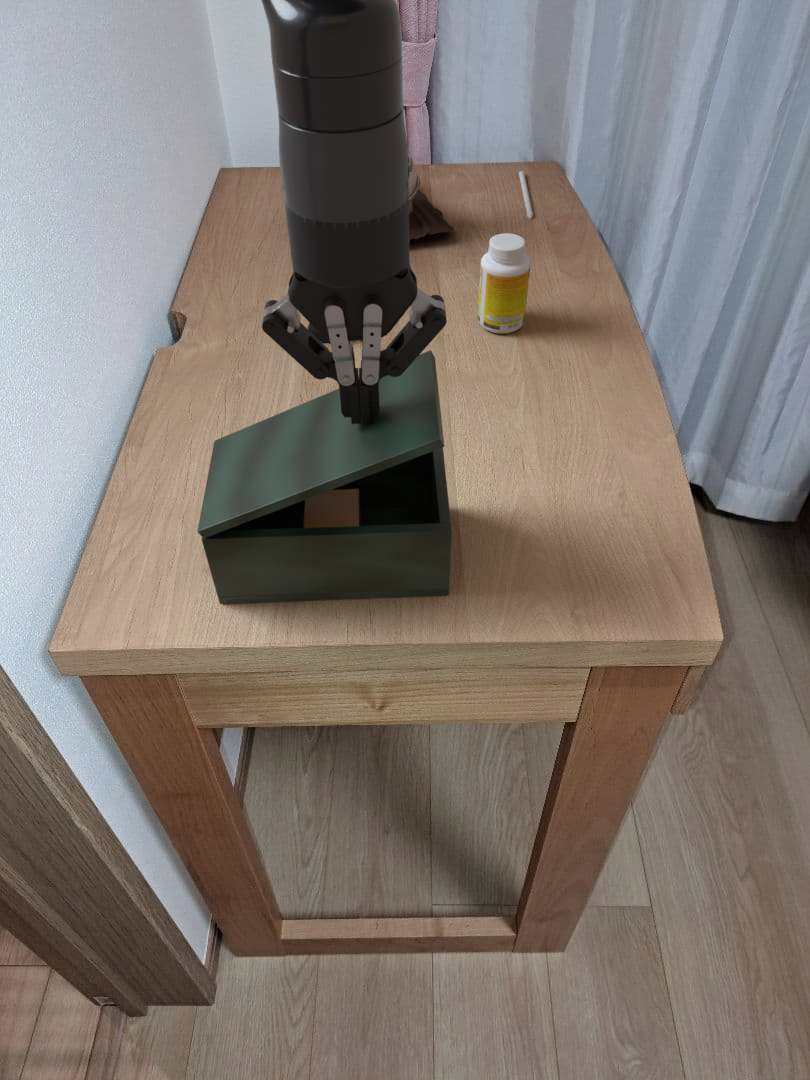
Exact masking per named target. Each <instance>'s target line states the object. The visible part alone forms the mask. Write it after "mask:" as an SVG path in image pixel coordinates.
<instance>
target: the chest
mask: <svg viewBox="0 0 810 1080" xmlns="http://www.w3.org/2000/svg"><path fill="white" fill-rule="evenodd" d="M444 453H445V452H444V447H443V448H440V449H437V450H435V451H432V452H429V453H427V454H424V455H422V456H419V457H416V458H414V459H411V460H408V461H406V462H403V463H401V464H398V465H395V466H393V467H390V468H387V469H385V470H382V471H379V472H377V473H374V474H372V475H369V476H366V477H364V478H361V479H358V480H356V481H353V482H351V483H348V484H345V485H343V486H340V487H337V488H335V489H332V490H342V489H359V495H360V509H361V523H362V526H347V527H318V528H303V522H304V506H305V500H303V501H301V502H298V503H295V504H293V505H290V506H287V507H285V508H282V509H280V510H277V511H274V512H272V513H269V514H266V515H264V516H261V517H258V518H256V519H253V520H251V521H248V522H245V523H243V524H240V525H237V526H235V527H232V528H230V529H227V530H224V531H222V532H219V533H216V534H214V535H211V536H208V537H206V538H203V537H202V536H201V543H202V546H203V549H204V553H205V557H206V560H207V564H208V568H209V571H210V576H211V578H212V581H213V585H214V588H215V592H216V596H217V599H218V602H219V603H218V604H219V605H220V604H221V605H222V604H223V605H225V604H226V605H227V604H248V603H249V604H250V603H253V604H254V603H278V602H304V601H308V602H309V601H332V600H333V601H334V600H335V601H336V600H358V599H359V600H360V599H383V598H384V599H386V598H389V599H390V598H413V597H414V598H415V597H418V598H419V597H441V596H449V595H450V583H451V582H450V581H451V561H452V560H451V559H452V537H453V536H452V535H453V529H452V521H451V511H450V510H451V509H450V502H449V491H448V481H447V473H446V462H445V454H444Z"/></svg>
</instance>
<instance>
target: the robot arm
mask: <svg viewBox="0 0 810 1080" xmlns="http://www.w3.org/2000/svg"><path fill="white" fill-rule="evenodd" d="M261 4H262V7H263V10H264V13H265V16H266V17H265V18H266V21H267V25H268V29H269V31H268V32H269V37H270V38H269V41H270V42H269V43H270V55H271V56H270V57H271V64H272V65H271V66H272V73H273V83H274V90H275V99H276V108H277V112H278V114H277V115H278V157H279V159H278V160H279V167H280V175H281V184H282V190H283V191H282V192H283V201H284V207H285V213H286V214H285V216H286V224H287V231H288V241H289V248H290V256H291V264H292V274H291V276H290V278H289V281H288V290H287V293H286V294H285V295H283V296H282V297H281V298H280V299H278V300H276V299H270V300H268V301H266V303H265V305H264V308H263V309H264V310H263V315H262V316H263V318H262V324H261V329H262V331H263V332H264V333H265V334H266V335H267V336H268V337H269V338H270V339H272V340H273V341H274V342H275V343H276V344H277V345H278V346H279V347H281V349H283V351H284V352H286V354H287V355H289V356H290V357H291V358H292V359H293V360H294V361H296V362H297V363H298V364H299V365H300V366H301V367H302V368H303V369H305V370H306V371H307V373H308V374H310V375H311V376H312V377H313V378H314V379H317V380H325V379H327V378H329V379H331V380H334V381H335V382H336V383H337V384H338V389H339V391H340V401H341V412H342V414H343V416H344V417H345V418H346V417H351V423H352V424H361V422H362V424H371V417H372V416H378V413H379V411H380V406H379V381H380V379H381V378H383V377H385V376H387V375H390V376H392V377H398V376H400V375H402V374H403V372H404V371H405V370H406V369H407V368H408V367H409V366H410V365H411V364H412V362H413V361H414V360H415V359H416V358H417V357H418V356H419V355H420V354H422V353H423V352H424V351H425V349H426V348H427V347H428V346H429V345H430V343H432V341H433V340H434V339H435V338H436V337H437V336H438V334H440V332H442V330H443V329H444V328H445V326H447V320H448V319H447V311H446V304H445V300H444V298H443V297H442V296H441V295H440V294H432V295H429V294H427V293H426V292H425V291H423V290H421V289H420V288H419V287H418V279H417V276H416V274H415V272H414V271H413V269H412V267H411V265H410V240H409V182H408V180H409V174H410V173H409V165H408V153H409V146H408V145H409V144H408V139H407V131H406V130H407V129H406V124H405V117H404V82H403V77H404V76H403V34H402V23H401V22H402V21H401V15H400V11H399V7H398V4H397V1H396V0H261ZM409 308H410V309H409ZM408 309H409V313H408V314H409V319H408V321H407V322H406V324H405V325H404V326H403V327H402V328H401V330H399V332H398V333H397V334H396V335H395V336H394V338H393V339H392V340H391V341H390V343H389V344H388V345H387V346H386V348H385V349H382V350H381V344H382V338H384V337H386V336H387V335H388V334H390V333H391V332H392V330H393V329H394V328H395V326H396V325H398V324H397V323H399V321H400V320H401V319H402V318H403V316H404V315H405V314H406V312H407V311H408ZM301 315H302V316H303V317H304V318H305V320H306V321H308V323H311V324H312V325H313V327H314V328H315V329H316V330H317V331H318V332H319V333H320V334H321V335H323V336H324V337H326V338H328V339H330V343H329V344H330V349H331V351H330V349H329V348H328V347H327V346H326V345H325V344H324V342H321V341H319V340H318V339H317V338H316V337H315V336H314V335H313V334H312V333H311V332H310V331H309V330H308V327H306V326H305V325H304V324H303V323H302V322H301V320H302V319H301V318H302V317H301ZM354 341H360V342H361V360H360V367H356V357H355V356H356V355H355V350H354V344H353V342H354Z"/></svg>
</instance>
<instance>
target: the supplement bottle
mask: <svg viewBox="0 0 810 1080" xmlns="http://www.w3.org/2000/svg"><path fill="white" fill-rule="evenodd" d="M479 270H480V271H479V286H478V303H477V321H478V324H479V325H480V327H481V328H483V329H484V330H486V331H488V332H490V333H493V334H498V335H499V334H501V335H504V334H510V333H511V334H512V333H514V332H516V331H518V330H519V329H521V328H522V327H523V325H524V323H525V319H526V311H527V310H526V309H527V301H528V292H529V291H528V290H529V281H530V271H531V259H530V257H529V256H528V255H527V254H526V240H525V239H524V238H523V236H520V235H518V234H515V233H509V232H508V233H507V232H505V233H498V234H495V235H493V236H492V237H490V239H489V243H488V251H487V252H486V253H485V254H483V256H482V257H481V260H480V269H479Z"/></svg>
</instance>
